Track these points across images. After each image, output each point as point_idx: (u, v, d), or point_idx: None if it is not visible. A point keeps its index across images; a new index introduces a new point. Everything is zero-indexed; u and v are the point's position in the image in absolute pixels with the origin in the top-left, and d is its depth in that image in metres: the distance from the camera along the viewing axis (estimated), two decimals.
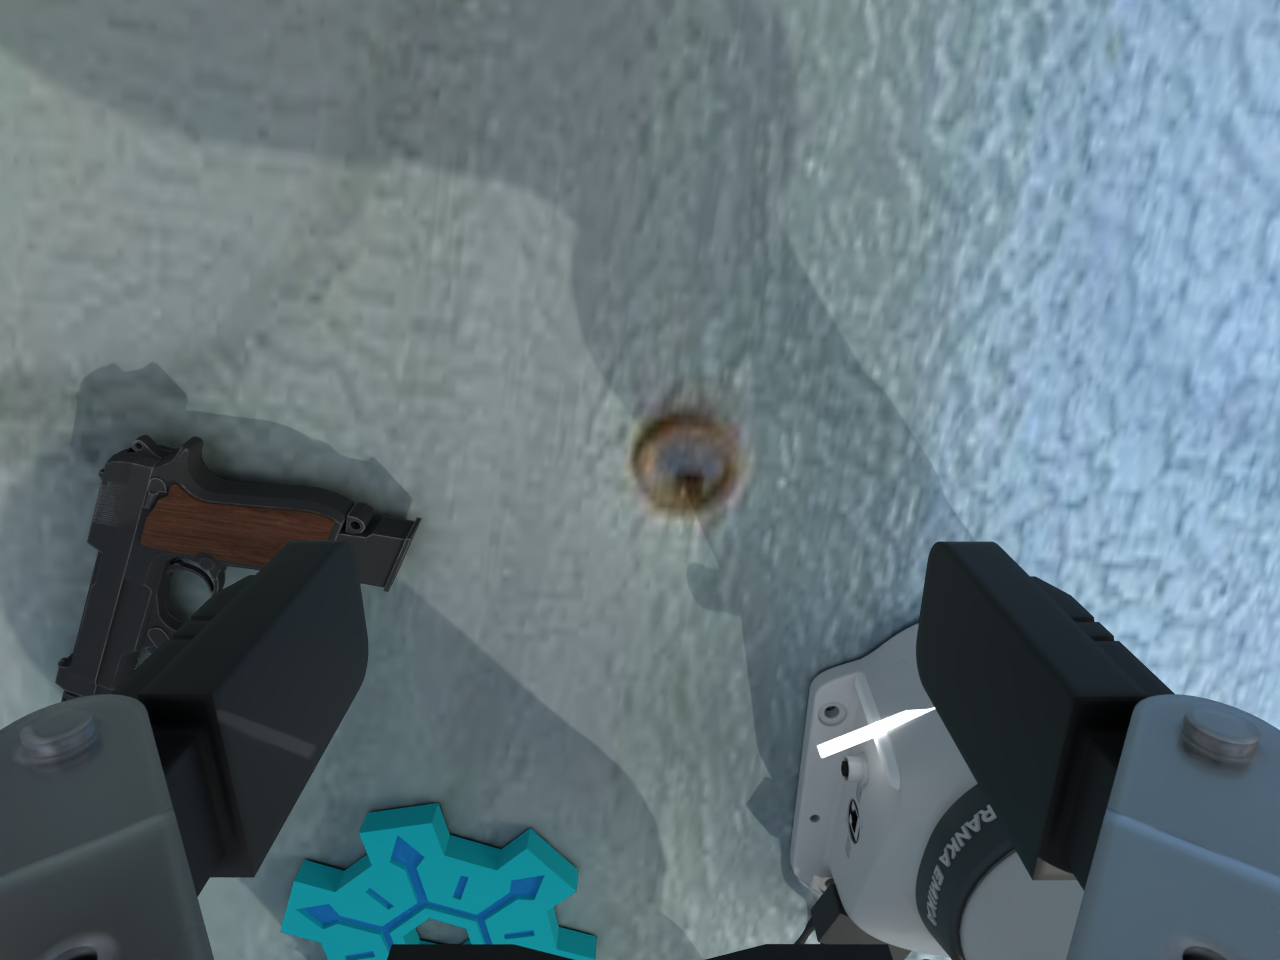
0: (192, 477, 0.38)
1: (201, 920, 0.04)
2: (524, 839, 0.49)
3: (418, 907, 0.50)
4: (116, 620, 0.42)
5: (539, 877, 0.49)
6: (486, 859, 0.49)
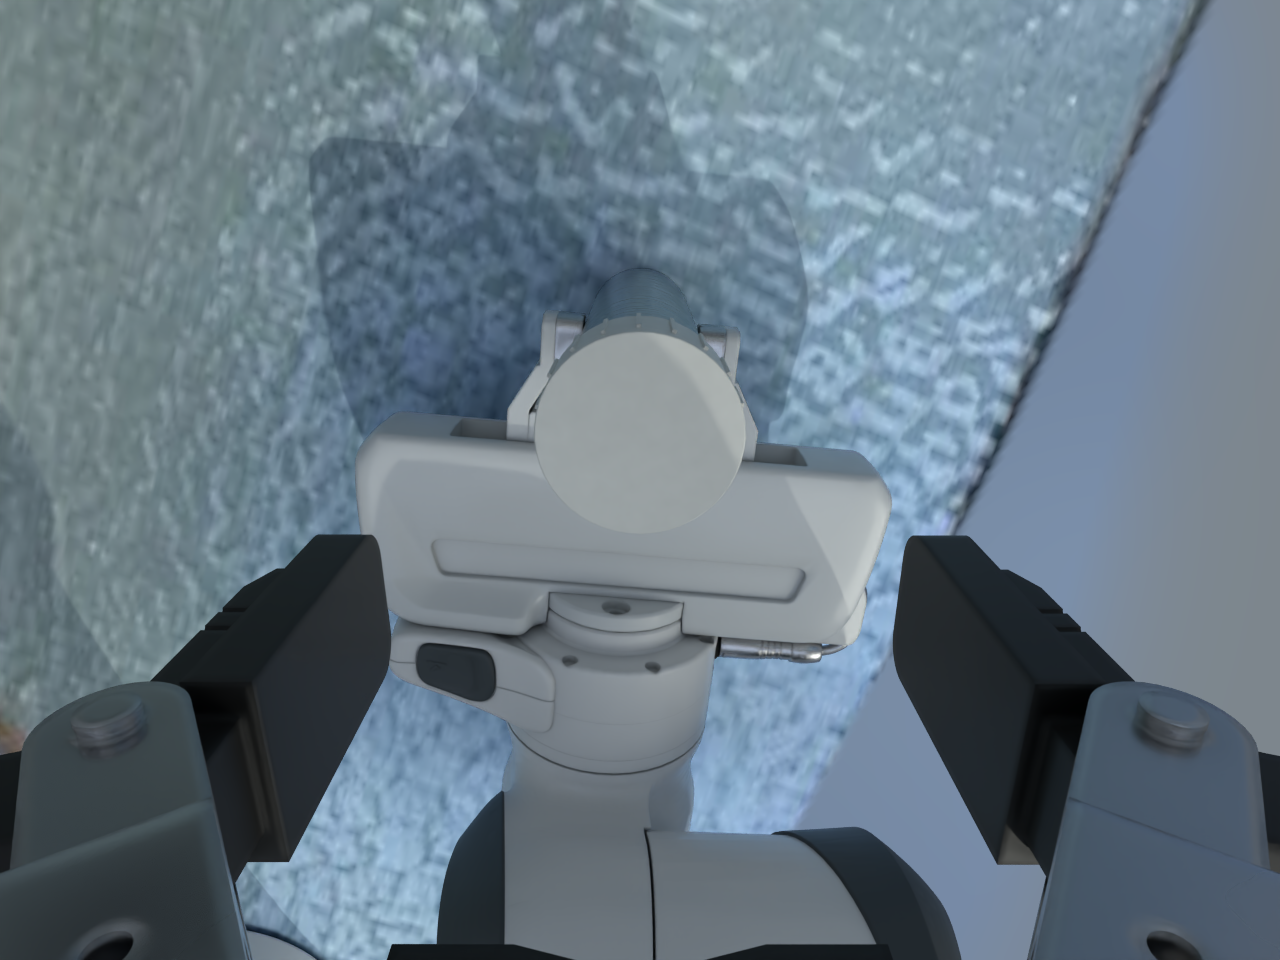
0: None
1: (233, 910, 0.04)
2: None
3: None
4: None
5: None
6: None
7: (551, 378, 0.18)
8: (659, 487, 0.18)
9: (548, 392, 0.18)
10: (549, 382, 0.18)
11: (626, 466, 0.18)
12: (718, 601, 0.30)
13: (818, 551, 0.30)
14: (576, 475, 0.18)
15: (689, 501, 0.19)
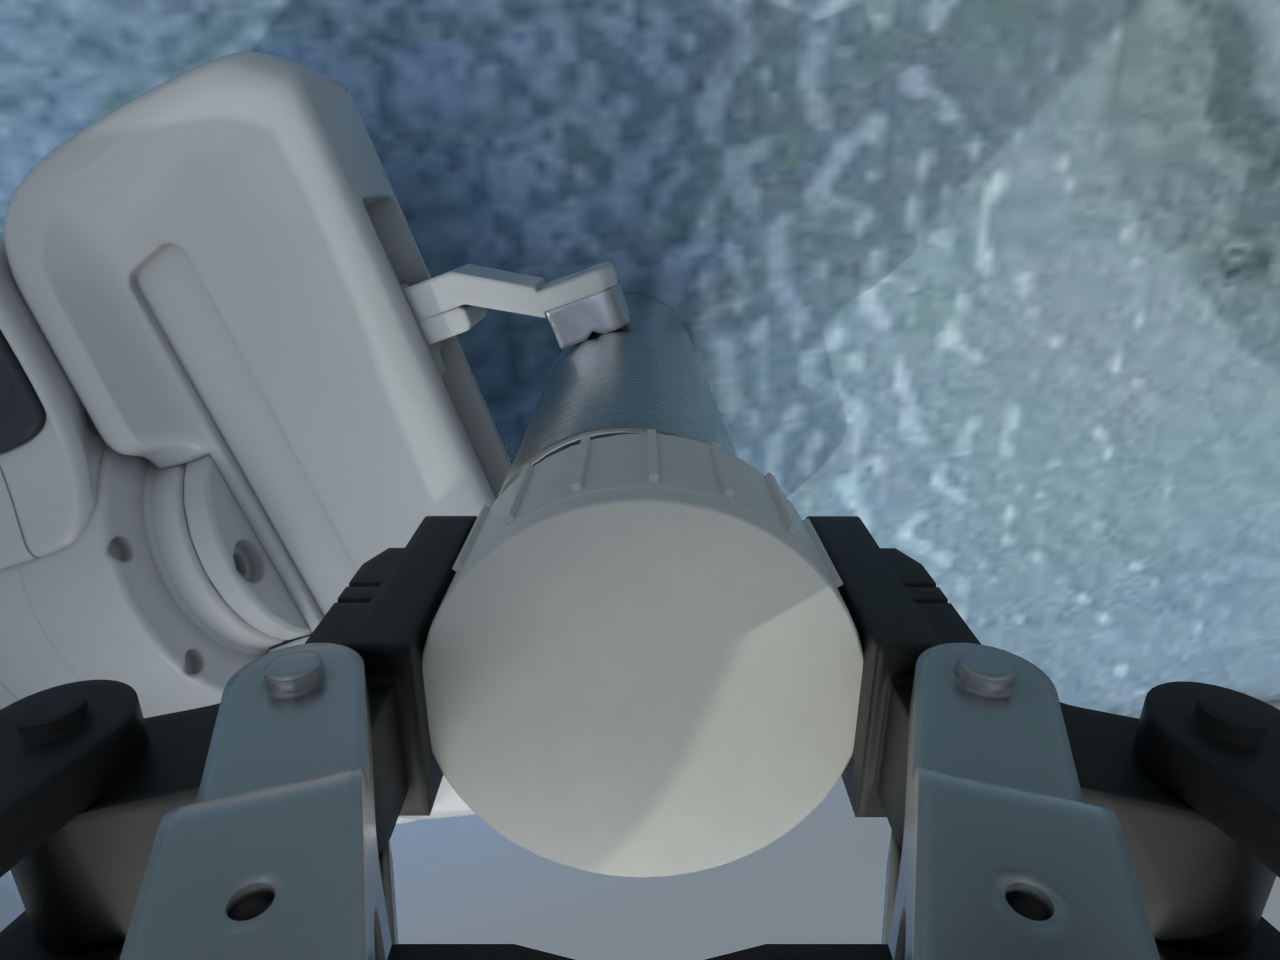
0: None
1: (362, 886, 0.04)
2: None
3: None
4: None
5: None
6: None
7: (593, 868, 0.09)
8: (737, 638, 0.08)
9: (620, 867, 0.09)
10: (601, 872, 0.09)
11: (713, 710, 0.09)
12: None
13: None
14: (765, 786, 0.09)
15: (748, 570, 0.08)
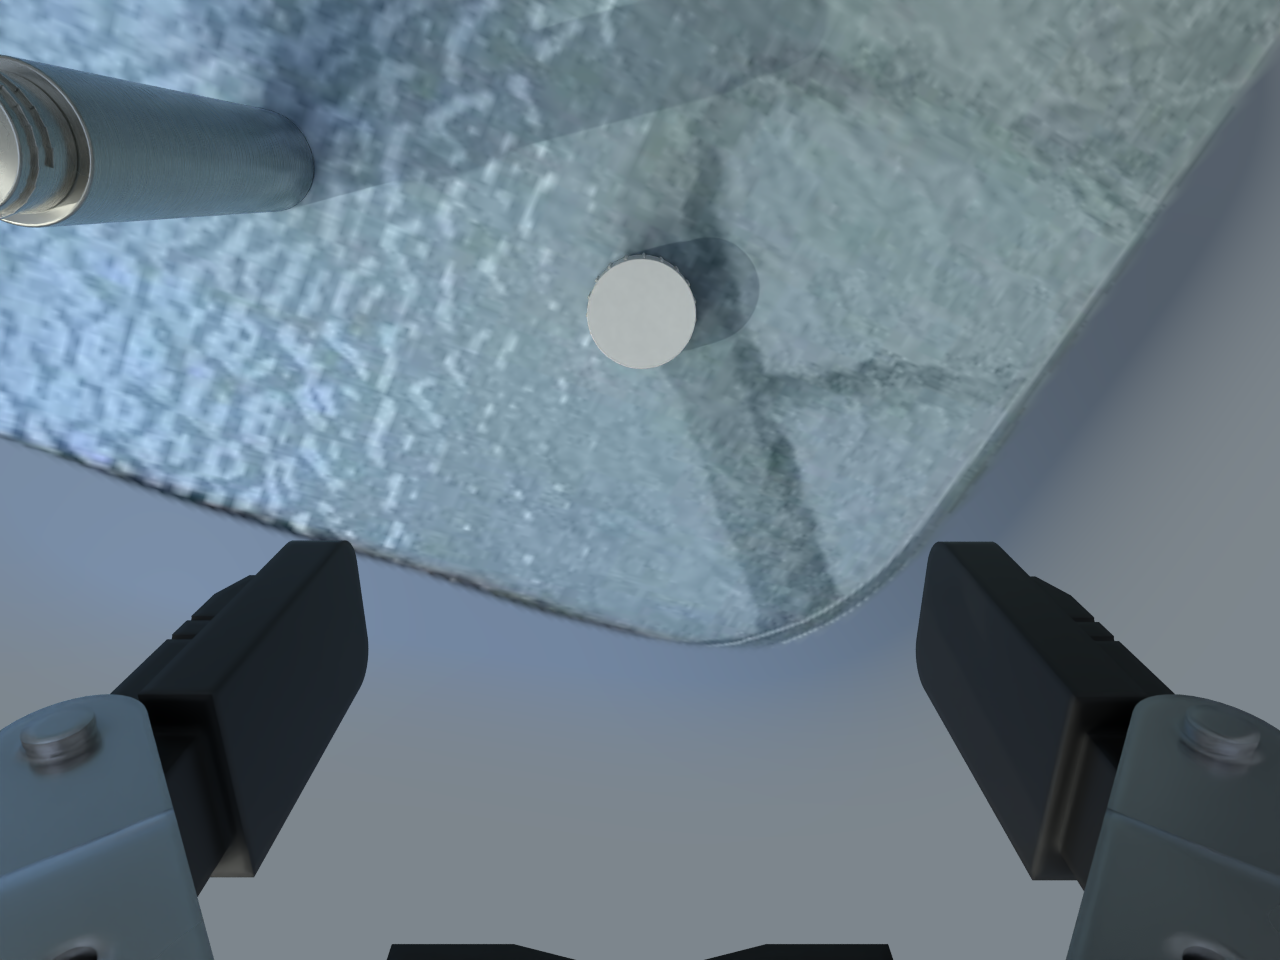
0: None
1: (201, 920, 0.04)
2: None
3: None
4: None
5: None
6: None
7: (628, 366, 0.36)
8: (663, 295, 0.35)
9: (635, 365, 0.36)
10: (630, 367, 0.36)
11: (658, 316, 0.35)
12: None
13: None
14: (672, 338, 0.35)
15: (665, 277, 0.34)
